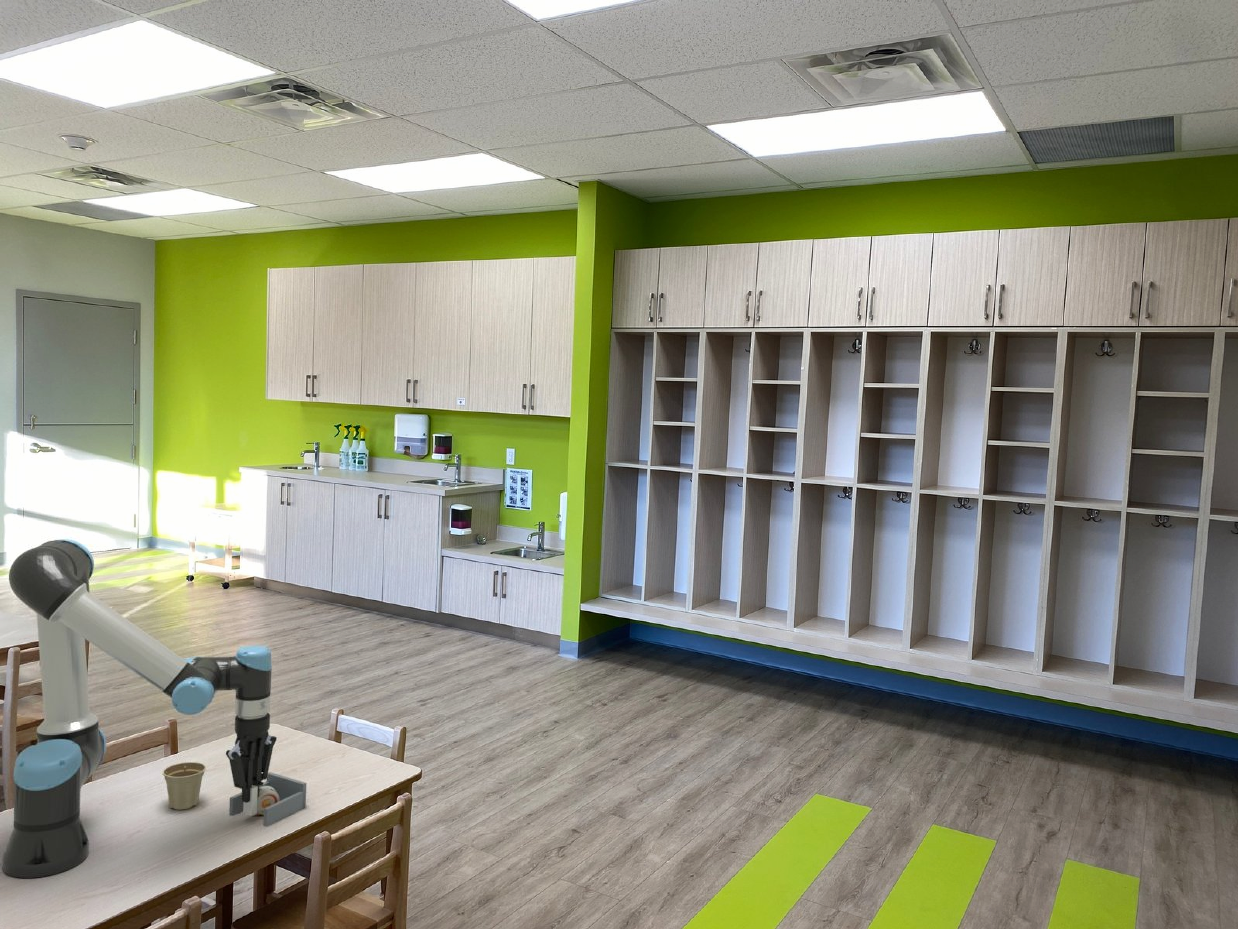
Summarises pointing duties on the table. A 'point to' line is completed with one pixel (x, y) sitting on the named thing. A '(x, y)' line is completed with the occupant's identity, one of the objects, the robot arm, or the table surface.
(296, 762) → the table surface
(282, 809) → the bin
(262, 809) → the roller toy
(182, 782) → the flower pot
